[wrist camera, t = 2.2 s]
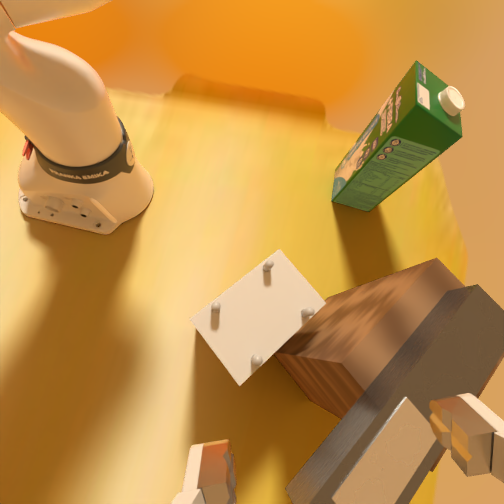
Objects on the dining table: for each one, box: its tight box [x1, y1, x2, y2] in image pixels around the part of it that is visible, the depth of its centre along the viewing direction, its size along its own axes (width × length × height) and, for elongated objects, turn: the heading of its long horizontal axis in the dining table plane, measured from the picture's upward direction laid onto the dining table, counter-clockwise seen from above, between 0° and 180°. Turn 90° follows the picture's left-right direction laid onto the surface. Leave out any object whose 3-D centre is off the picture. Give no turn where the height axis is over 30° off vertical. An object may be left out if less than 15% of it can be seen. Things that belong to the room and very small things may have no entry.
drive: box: [285, 284, 504, 504], centre depth 19 cm, size 22×4×3 cm, turn 130°
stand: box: [274, 258, 504, 472], centre depth 34 cm, size 15×10×25 cm, turn 130°
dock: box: [190, 249, 326, 386], centre depth 37 cm, size 14×9×18 cm, turn 130°
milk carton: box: [332, 61, 465, 212], centre depth 47 cm, size 9×9×25 cm
